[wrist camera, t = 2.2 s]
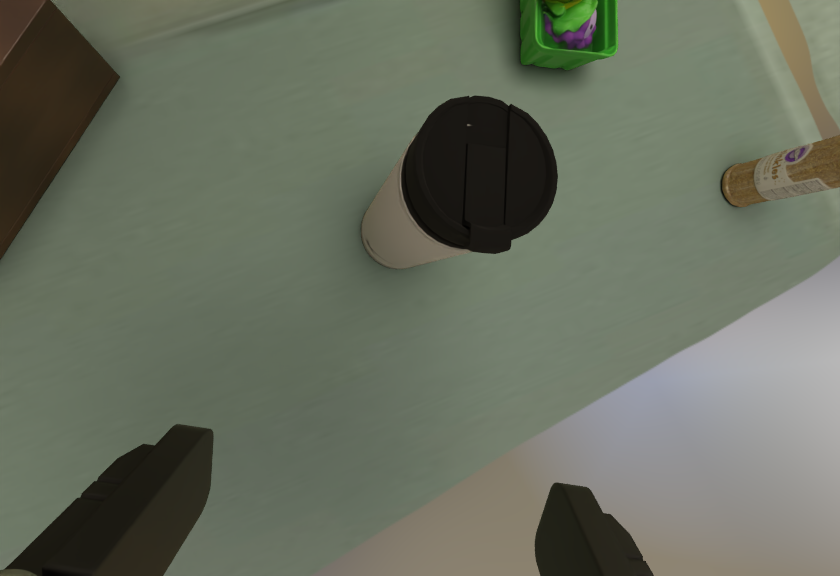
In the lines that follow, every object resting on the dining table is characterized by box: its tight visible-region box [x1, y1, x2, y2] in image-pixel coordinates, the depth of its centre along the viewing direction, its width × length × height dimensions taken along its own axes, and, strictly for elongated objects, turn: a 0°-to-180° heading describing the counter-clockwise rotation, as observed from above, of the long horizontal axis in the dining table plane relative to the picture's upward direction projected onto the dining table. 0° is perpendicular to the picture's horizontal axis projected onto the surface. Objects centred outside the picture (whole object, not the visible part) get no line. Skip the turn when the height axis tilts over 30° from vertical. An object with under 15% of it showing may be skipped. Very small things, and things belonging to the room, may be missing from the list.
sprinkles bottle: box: [722, 135, 840, 207], centre depth 38 cm, size 5×5×14 cm
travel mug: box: [361, 96, 558, 269], centre depth 26 cm, size 6×7×20 cm
